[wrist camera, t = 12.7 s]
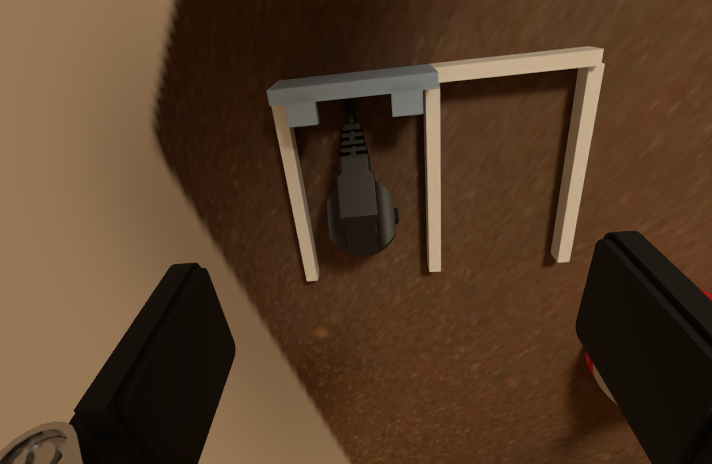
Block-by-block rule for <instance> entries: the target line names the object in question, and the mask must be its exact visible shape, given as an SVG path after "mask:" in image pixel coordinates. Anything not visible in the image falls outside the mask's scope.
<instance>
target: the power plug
mask: <svg viewBox="0 0 712 464" xmlns="http://www.w3.org/2000/svg"><path fill="white" fill-rule="evenodd" d="M345 108H346V119H347V123H344V124H342V126H341V137H340V140H341V142H340V150H339V155H340V157H339V170H340V174H339V175H337V176H336V181H337V188H336V189H335V190H334V191H333V193H332V194H331V195H330V197H329V198H328V200H327V212H328V215H325V216H324V217H325V227H326V228H327V229H329V238H330V239H331V241H332V242H333V243H334V244H335V245H336V246H337V247H339V248H340V249H342V250H344V251H345V252H347V253H350V254H352V255H356V256H362V255H365V254H370V255H374V254H376V253H379V252H381V251H382V250H384V249H385V248H386V247H387V246H388V245H389V244H390V243H391V242H392V240H393V239H394V237H395V233H396V231H395V224H398V223H399V215H398V209H397V208H393V200H392V195H391V193H390V192H389V191H388V190H387V189H386V188H385V187H383V186H382V185H381V184H379V183H377V182H376V181H375V173H374V172H371V165H370V158H369V154H368V150H367V146H366V142H365V138H364V133H363V129H362V125H361V123H360V122H356V118H355V107H354V98H345Z"/></svg>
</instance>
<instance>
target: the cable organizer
mask: <svg viewBox="0 0 712 464" xmlns="http://www.w3.org/2000/svg"><path fill="white" fill-rule="evenodd" d="M603 50H604V49H601V48H596V47H590V46H587V47H578V48H569V49H560V50H551V51H541V52H532V53H523V54H514V55H505V56H496V57H487V58H478V59H469V60H460V61H451V62H442V63H432V64H423V65H414V66H405V67H396V68H387V69H378V70H369V71H360V72H351V73H342V74H333V75H324V76H314V77H305V78H296V79H287V80H278V81H277V82H276V83H275V84H274V85H272V86H271V87H270V88H269V89H268V90H267V96H268V101H269V105H270V106H271V107H272V112H273V117H274V121H275V126H276V131H277V136H278V141H279V146H280V151H281V156H282V161H283V166H284V171H285V176H286V181H287V186H288V191H289V195H290V200H291V205H292V210H293V215H294V220H295V225H296V230H297V235H298V240H299V245H300V250H301V255H302V260H303V265H304V269H305V274H306V279H307V281H318V277H319V266H318V260H317V255H316V249H315V243H314V238H313V232H312V227H311V221H310V216H309V210H308V205H307V199H306V194H305V188H304V183H303V177H302V172H301V166H300V161H299V155H298V150H297V144H296V139H295V133H294V128H293V127H299V126H309V125H318V124H319V116H318V109H317V102H316V101H326V100H335V99H344V98H354V97H363V96H373V95H382V94H391V104H392V116H393V117H397V116H407V115H417V114H423V110H424V150H425V191H426V231H427V264H428V268H429V272H438V271H441V187H440V83H441V82H450V81H460V80H469V79H478V78H488V77H497V76H506V75H516V74H525V73H535V72H544V71H553V70H563V69H572V68H578V74H577V81H576V87H575V94H574V101H573V107H572V114H571V121H570V127H569V134H568V141H567V147H566V154H565V161H564V167H563V174H562V181H561V187H560V194H559V201H558V207H557V214H556V221H555V227H554V234H553V241H552V247H551V255H552V256H553V257H554V259H555V260H556V261H557V263H558V262H569V261H570V255H571V250H572V244H573V239H574V233H575V227H576V222H577V216H578V211H579V205H580V199H581V194H582V188H583V183H584V177H585V172H586V166H587V160H588V155H589V149H590V144H591V138H592V132H593V127H594V121H595V116H596V110H597V104H598V99H599V93H600V88H601V82H602V76H603V71H604V65H605V64H604V63H601V62H602V56H603Z"/></svg>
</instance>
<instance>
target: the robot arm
mask: <svg viewBox="0 0 712 464" xmlns="http://www.w3.org/2000/svg"><path fill="white" fill-rule="evenodd" d="M576 333H577V336H578V338H579V340H580V342H581V343H582V345H583V347H584V349H585V350H586V352H587V354H588V355H589V357H590V359H591V361H592V362H593V364H594V366H595V367H596V369H597V371H598V372H599V374H600V376H601V378H602V379H603V381H604V383H605V384H606V386H607V388H608V390H609V391H610V393H611V395H612V396H613V398H614V400H615V401H616V403H617V405H618V407H619V408H620V410H621V412H622V413H623V415H624V417H625V419H626V420H627V422H628V424H629V425H630V427H631V429H632V430H633V432H634V434H635V436H636V437H637V439H638V441H639V442H640V444H641V446H642V448H643V449H644V451H645V453H646V454H647V456H648V458H649V459H650V461H651V463H652V464H712V300H711V299H710V298H708V297H707V296H706V295H705V294H704V293H703V292H702V291H701V290H700V289H699V288H698V287H697V286H696V285H695V284H694V283H692V282H691V281H690V280H689V279H688V278H687V277H686V276H685V275H684V274H683V273H682V272H681V271H680V270H679V269H678V268H677V267H675V266H674V265H673V264H672V263H671V262H670V261H669V260H668V259H667V258H666V257H665V256H664V255H663V254H662V253H661V252H660V251H658V250H657V249H656V248H655V247H654V246H653V245H652V244H651V243H650V242H649V241H648V240H647V239H646V238H645V237H644V236H642V235H641V234H640V233H639V232H637V231H623V232H610V233H607V234H606V235H605V236H604V238H603V239H600V240H598V241H597V243H596V245H595V249H594V253H593V257H592V261H591V265H590V269H589V273H588V277H587V281H586V285H585V289H584V293H583V296H582V300H581V304H580V308H579V312H578V316H577V320H576ZM234 357H235V343H234V340H233V337H232V334H231V332H230V329H229V326H228V324H227V321H226V318H225V316H224V313H223V310H222V308H221V305H220V302H219V300H218V297H217V294H216V292H215V289H214V286H213V283H212V281H211V278H210V275H209V273H208V271H207V270H206V268H201V267H200V265H199V264H198V263H185V264H174V265H172V266H171V267H170V268H169V269H168V271H167V272H166V274H165V275H164V277H163V278H162V280H161V281H160V283H159V284H158V286H157V287H156V289H155V290H154V291H153V293H152V294H151V296H150V297H149V299H148V301H147V302H146V303H145V305H144V306H143V308H142V309H141V311H140V313H139V314H138V316H137V317H136V318H135V320H134V321H133V323H132V324H131V326H130V327H129V329H128V331H127V332H126V333H125V335H124V336H123V338H122V339H121V341H120V342H119V344H118V345H117V347H116V348H115V350H114V351H113V353H112V354H111V356H110V357H109V358H108V360H107V361H106V363H105V364H104V366H103V367H102V369H101V370H100V372H99V373H98V375H97V376H96V378H95V379H94V381H93V383H92V384H91V385H90V387H89V388H88V390H87V391H86V393H85V394H84V396H83V397H82V399H81V400H80V402H79V403H78V405H77V406H76V408H75V409H74V412H75V415H74V416H73V418H72V419H71V421H70V422H69V424H68V423H66V422H51V423H46V424H42V425H40V426H37V427H35V428H33V429H31V430H29V431H27V432H25V433H24V434H22V435H21V436H19V437H17V438H16V439H14V440H13V441H12V442H11V443H10V444H8V445H7V446H6V447H5V448H4V449H3V450H2V451H0V464H198V462H199V459H200V456H201V453H202V450H203V447H204V444H205V442H206V439H207V436H208V433H209V430H210V427H211V424H212V421H213V418H214V415H215V413H216V410H217V407H218V404H219V401H220V398H221V395H222V392H223V389H224V386H225V383H226V381H227V378H228V375H229V372H230V369H231V366H232V363H233V360H234Z"/></svg>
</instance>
